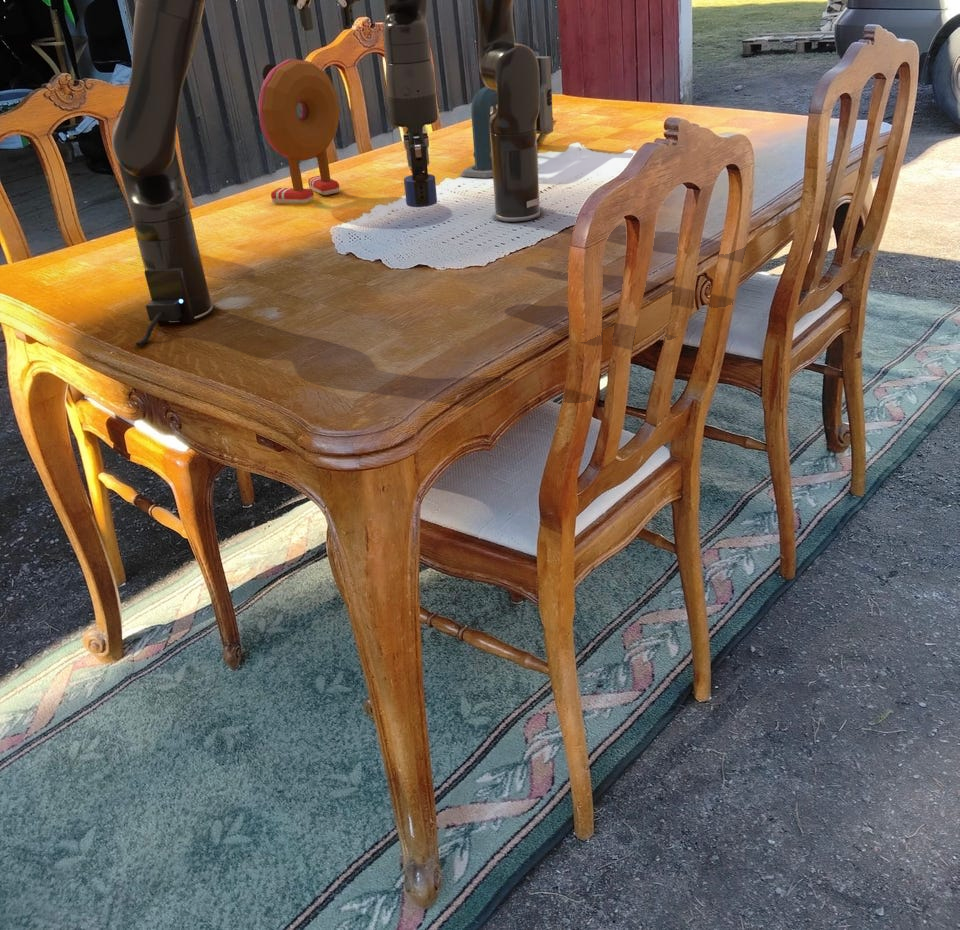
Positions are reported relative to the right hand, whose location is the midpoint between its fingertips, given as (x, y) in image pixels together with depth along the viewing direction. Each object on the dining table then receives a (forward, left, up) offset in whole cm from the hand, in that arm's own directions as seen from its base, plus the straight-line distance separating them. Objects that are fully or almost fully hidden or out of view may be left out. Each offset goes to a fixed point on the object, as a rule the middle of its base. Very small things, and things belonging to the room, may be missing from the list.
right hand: (328, 29), depth 182 cm
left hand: (+29, +31, -23) cm, 48 cm away
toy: (-21, -24, -38) cm, 50 cm away
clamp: (-59, +11, -38) cm, 71 cm away
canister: (+29, +31, -23) cm, 48 cm away
